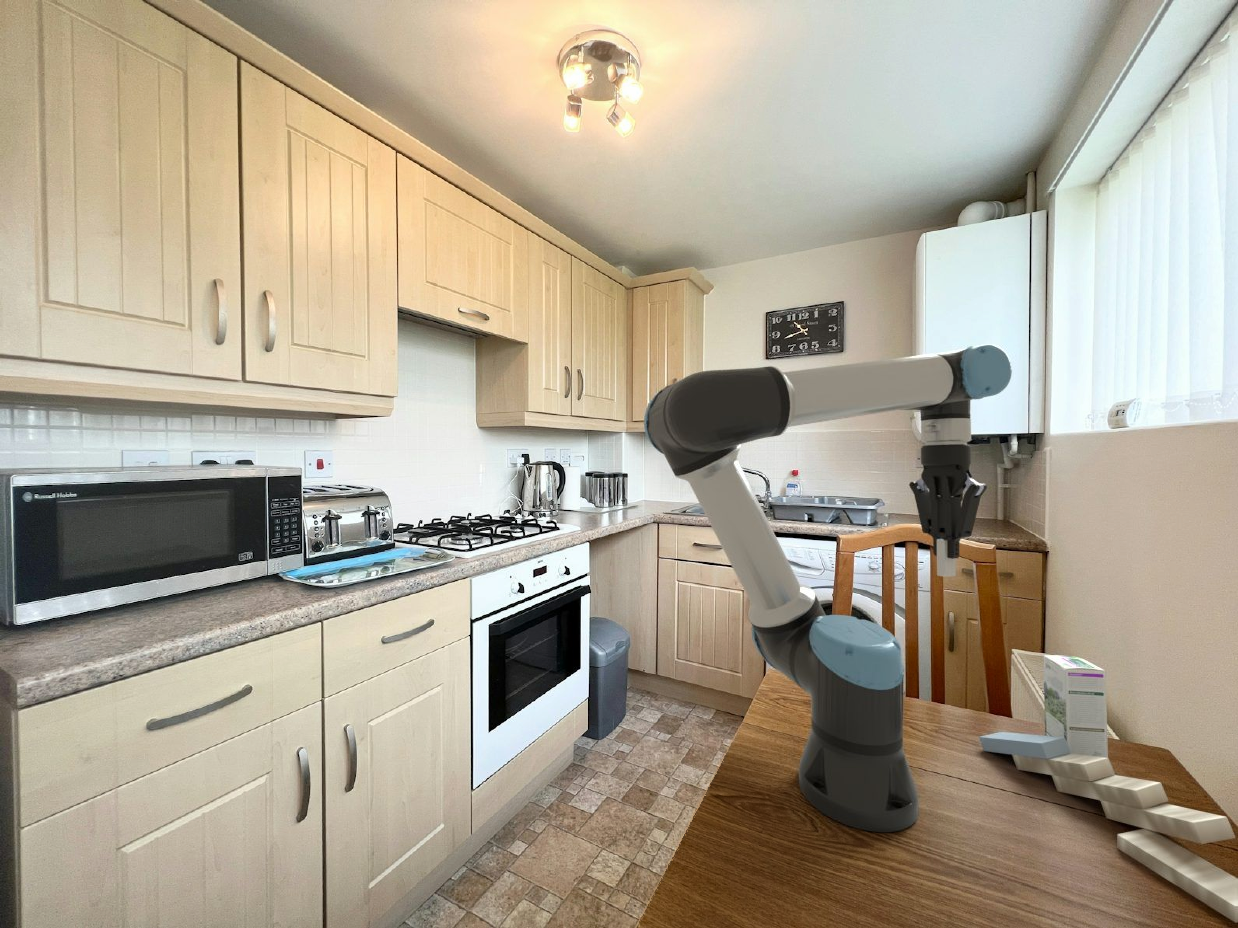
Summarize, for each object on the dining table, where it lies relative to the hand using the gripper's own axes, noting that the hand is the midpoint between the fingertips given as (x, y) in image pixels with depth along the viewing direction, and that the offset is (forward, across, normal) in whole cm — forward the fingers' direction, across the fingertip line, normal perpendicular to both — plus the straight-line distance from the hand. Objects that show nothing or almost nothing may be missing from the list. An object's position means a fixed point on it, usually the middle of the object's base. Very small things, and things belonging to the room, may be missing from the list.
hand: (946, 575), depth 89 cm
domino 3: (+26, +18, -1) cm, 31 cm away
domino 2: (+26, +13, 0) cm, 29 cm away
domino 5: (+26, +28, -6) cm, 39 cm away
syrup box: (+27, +13, +11) cm, 32 cm away
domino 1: (+26, +8, 0) cm, 27 cm away
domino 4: (+26, +24, -1) cm, 35 cm away
